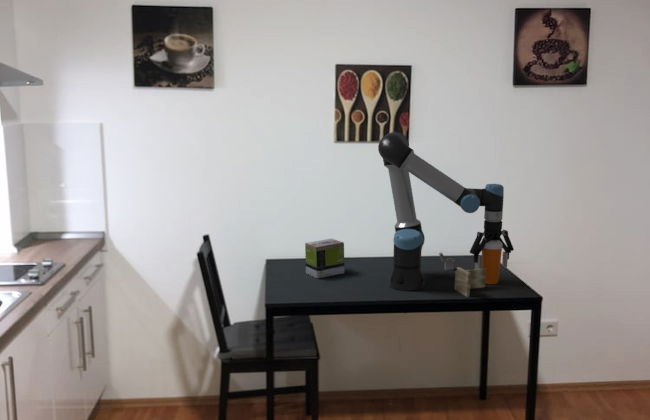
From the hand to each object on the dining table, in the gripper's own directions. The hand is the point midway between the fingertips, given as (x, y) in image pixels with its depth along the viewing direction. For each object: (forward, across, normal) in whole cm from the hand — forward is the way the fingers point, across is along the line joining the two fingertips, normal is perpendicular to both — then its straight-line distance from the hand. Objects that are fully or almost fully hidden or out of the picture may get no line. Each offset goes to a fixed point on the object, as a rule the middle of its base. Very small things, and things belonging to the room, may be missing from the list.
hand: (491, 268), depth 279 cm
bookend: (+6, -13, -10) cm, 18 cm away
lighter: (+6, -9, +23) cm, 26 cm away
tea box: (+6, -65, +33) cm, 73 cm away
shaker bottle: (+6, 0, 0) cm, 6 cm away
